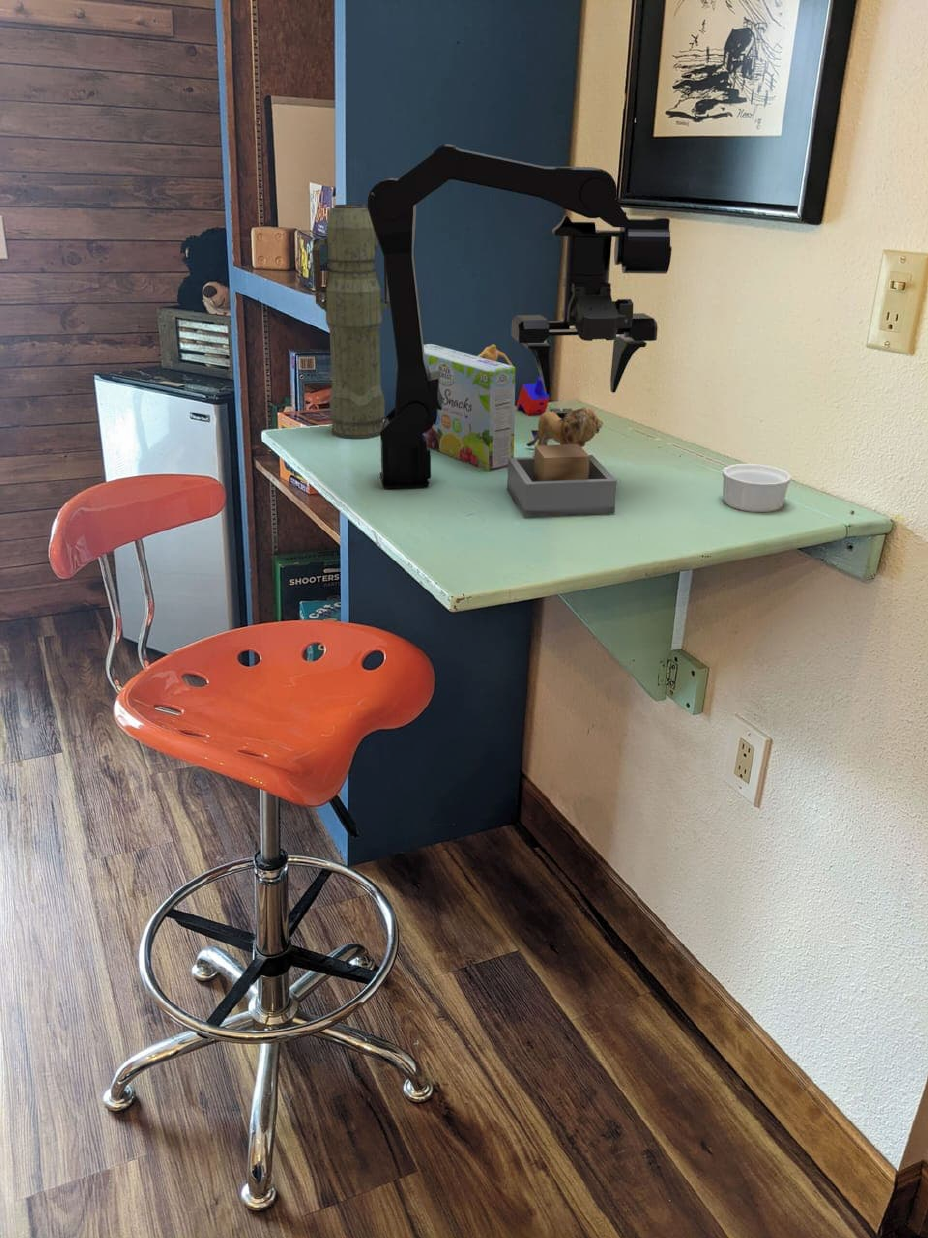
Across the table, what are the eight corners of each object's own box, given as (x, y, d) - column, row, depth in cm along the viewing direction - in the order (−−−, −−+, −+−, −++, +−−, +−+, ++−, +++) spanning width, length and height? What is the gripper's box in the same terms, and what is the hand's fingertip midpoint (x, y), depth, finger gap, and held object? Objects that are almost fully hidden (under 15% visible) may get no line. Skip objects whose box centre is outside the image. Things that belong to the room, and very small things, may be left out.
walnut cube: (542, 501, 133) (544, 457, 130) (533, 487, 138) (534, 445, 136) (586, 500, 134) (589, 456, 131) (575, 486, 139) (578, 443, 136)
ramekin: (786, 497, 139) (791, 466, 137) (786, 517, 132) (791, 485, 130) (721, 490, 141) (724, 460, 140) (716, 510, 134) (720, 479, 132)
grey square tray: (524, 517, 130) (526, 484, 128) (507, 488, 141) (508, 457, 139) (614, 513, 132) (616, 480, 130) (590, 485, 143) (592, 454, 141)
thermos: (318, 427, 170) (306, 203, 155) (387, 423, 173) (381, 203, 158) (326, 441, 162) (314, 207, 147) (397, 436, 165) (393, 206, 150)
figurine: (483, 419, 176) (484, 349, 171) (465, 412, 180) (466, 344, 175) (523, 414, 180) (525, 345, 175) (504, 407, 184) (506, 340, 179)
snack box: (405, 440, 163) (404, 346, 157) (433, 435, 166) (433, 342, 160) (487, 472, 148) (489, 369, 142) (516, 465, 151) (519, 364, 145)
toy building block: (524, 422, 181) (535, 387, 174) (516, 407, 183) (526, 371, 177) (542, 420, 182) (553, 385, 176) (533, 405, 184) (544, 370, 178)
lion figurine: (605, 467, 151) (609, 407, 147) (580, 473, 148) (583, 412, 144) (538, 445, 161) (540, 389, 157) (513, 451, 158) (515, 394, 154)
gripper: (530, 281, 122) (525, 408, 129) (677, 279, 125) (665, 404, 132) (512, 270, 132) (508, 389, 139) (648, 269, 135) (639, 386, 142)
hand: (580, 392), depth 138 cm, fingers open, 9 cm apart
